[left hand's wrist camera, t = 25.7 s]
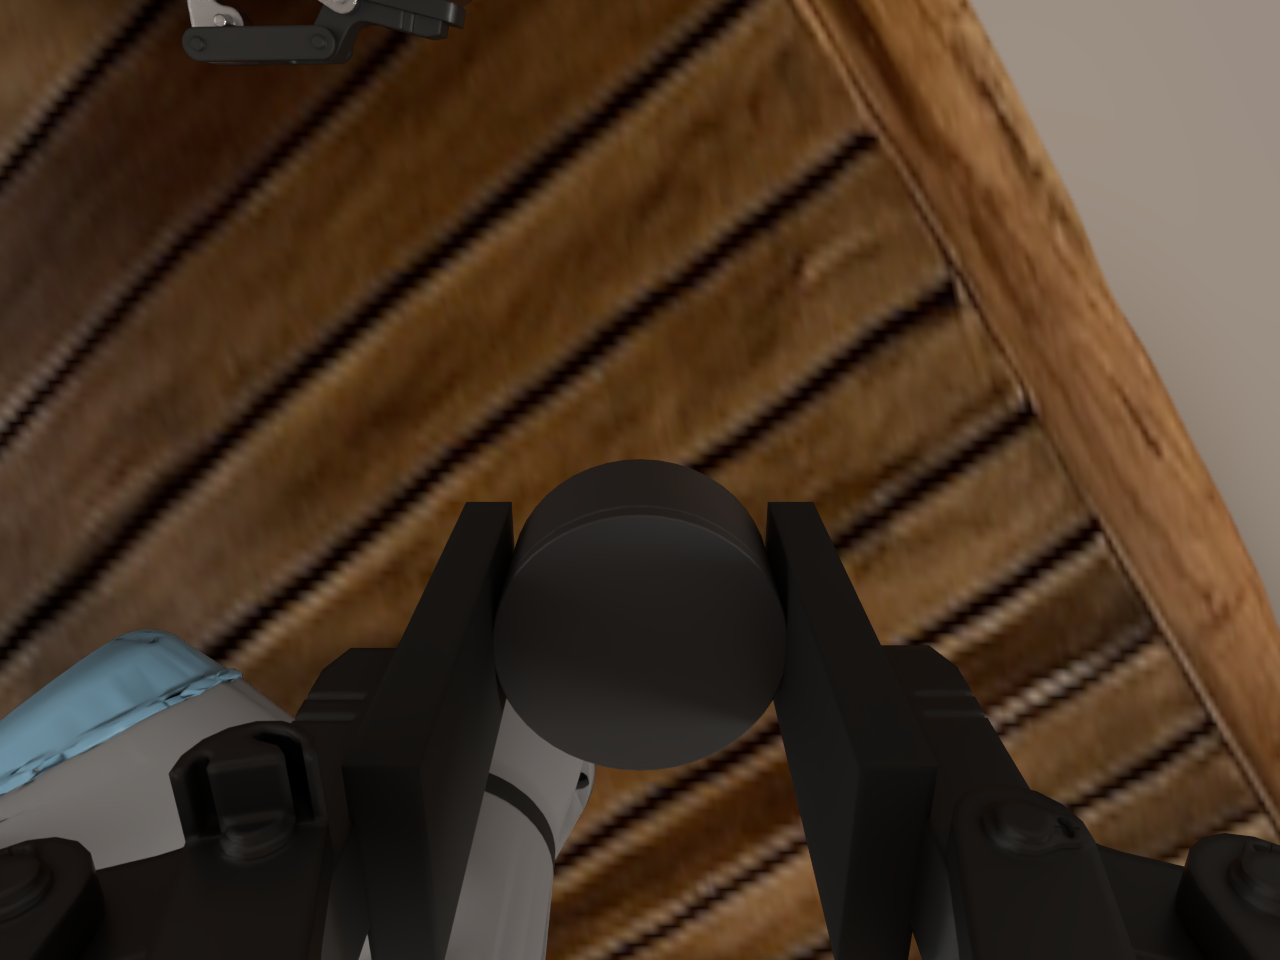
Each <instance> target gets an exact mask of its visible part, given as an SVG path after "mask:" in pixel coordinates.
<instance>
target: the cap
mask: <svg viewBox="0 0 1280 960" xmlns="http://www.w3.org/2000/svg"><path fill="white" fill-rule="evenodd" d="M786 637H787V619H786V615H785V612H784V609H783V605H782V602H781V599H780V595H779V592H778V589H777V586H776V582H775V579H774V576H773V573H772V569H771V566H770V563H769V559H768V556H767V553H766V550H765V546H764V543H763V540H762V537H761V534H760V532H759V530H758V528H757V526H756V524H755V522H754V520H753V519H752V517H751V516H750V514H749V513H748V511H747V510H746V508H745V507H744V506H743V505H742V504H741V503H740V502H739V501H738V499H737V498H736V497H735V496H734V495H733V494H731V493H730V492H729V491H728V490H727V489H725V488H724V487H723V486H722V485H720V484H719V483H717V482H716V481H714V480H713V479H711V478H709V477H708V476H706V475H704V474H701V473H699V472H697V471H695V470H693V469H690V468H687V467H684V466H681V465H678V464H674V463H669V462H664V461H658V460H644V459H638V460H622V461H617V462H611V463H606V464H603V465H599V466H596V467H593V468H590V469H587V470H585V471H583V472H581V473H579V474H577V475H574V476H573V477H571V478H569V479H568V480H566V481H565V482H563V483H561V484H560V485H558V486H557V487H556V488H555V489H554V490H552V491H551V492H550V493H549V494H548V495H546V497H545V498H544V499H543V500H542V501H541V502H540V503H539V504H538V505H537V506H536V507H535V509H534V510H533V512H532V513H531V515H530V516H529V518H528V519H527V520H526V522H525V524H524V526H523V528H522V530H521V532H520V535H519V538H518V541H517V544H516V547H515V550H514V553H513V557H512V560H511V563H510V566H509V570H508V573H507V576H506V580H505V583H504V586H503V589H502V593H501V596H500V599H499V603H498V606H497V609H496V612H495V616H494V622H493V645H494V658H495V670H496V674H497V678H498V681H499V683H500V685H501V688H502V690H503V692H504V694H505V696H506V698H507V700H508V701H509V703H510V704H511V706H512V707H513V709H514V711H515V712H516V713H517V714H518V715H519V717H520V718H521V719H522V720H523V721H524V723H525V724H526V725H527V726H528V727H529V728H531V729H532V730H533V731H534V732H535V733H536V734H537V735H538V736H539V737H541V738H542V739H544V740H545V741H547V742H548V743H549V744H551V745H552V746H554V747H556V748H557V749H559V750H561V751H563V752H565V753H567V754H568V755H571V756H573V757H576V758H578V759H581V760H583V761H586V762H589V763H593V764H596V765H600V766H604V767H610V768H616V769H624V770H657V769H664V768H670V767H676V766H680V765H684V764H688V763H691V762H694V761H697V760H699V759H702V758H705V757H707V756H710V755H712V754H713V753H715V752H717V751H719V750H721V749H723V748H725V747H726V746H728V745H729V744H731V743H732V742H734V741H735V740H737V739H738V738H740V737H741V736H742V735H743V734H744V733H745V732H746V731H748V730H749V729H750V728H751V727H752V726H753V725H754V724H755V723H756V722H757V720H758V719H759V718H760V717H761V716H762V715H763V714H764V712H765V711H766V709H767V708H768V706H769V705H770V703H771V702H772V700H773V699H774V697H775V695H776V692H777V690H778V688H779V686H780V684H781V681H782V678H783V675H784V665H785V651H786Z"/></svg>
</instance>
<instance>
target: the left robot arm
mask: <svg viewBox="0 0 1280 960" xmlns="http://www.w3.org/2000/svg"><path fill="white" fill-rule="evenodd" d="M765 550H766V553H767V556H768V559H769V563H770V566H771V569H772V573H773V576H774V579H775V582H776V586H777V589H778V592H779V595H780V599H781V602H782V605H783V609H784V612H785V615H786V619H787V637H786V651H785V665H784V675H783V678H782V681H781V684H780V686H779V688H778V690H777V692H776V695H775V697H774V699H773V701H774V705H775V709H776V713H777V718H778V722H779V726H780V730H781V735H782V739H783V743H784V747H785V752H786V756H787V760H788V764H789V768H790V773H791V777H792V781H793V785H794V790H795V794H796V798H797V802H798V806H799V811H800V815H801V819H802V823H803V828H804V832H805V836H806V840H807V845H808V849H809V853H810V857H811V861H812V866H813V870H814V874H815V878H816V883H817V887H818V891H819V895H820V899H821V904H822V908H823V912H824V916H825V921H826V925H827V929H828V933H829V937H830V942H831V946H832V950H833V954H834V959H835V960H908V956H909V950H910V944H911V937H912V931H913V934H914V937H915V940H916V943H917V946H918V949H919V951H920V954H921V957H922V960H1280V845H1277V844H1274V843H1271V842H1268V841H1265V840H1262V839H1259V838H1256V837H1253V836H1244V835H1236V834H1227V833H1223V834H1218V835H1213V836H1207V837H1202V838H1201V839H1200V840H1199V841H1198V842H1197V843H1196V844H1195V845H1194V846H1193V847H1191V848H1190V850H1189V853H1188V856H1187V860H1186V863H1185V866H1180V865H1175V864H1171V863H1167V862H1163V861H1158V860H1154V859H1150V858H1146V857H1141V856H1137V855H1133V854H1129V853H1124V852H1121V851H1118V850H1114V849H1111V848H1108V847H1105V846H1102V845H1099V844H1097V843H1095V841H1094V839H1093V837H1092V836H1091V834H1090V833H1089V831H1088V829H1087V828H1086V826H1085V824H1084V823H1083V821H1081V820H1080V819H1079V818H1078V817H1077V816H1076V815H1074V814H1073V813H1072V812H1071V811H1070V810H1068V809H1067V808H1066V807H1065V806H1064V805H1063V804H1061V803H1059V802H1057V801H1055V800H1053V799H1051V798H1049V797H1047V796H1045V795H1043V794H1041V793H1039V792H1037V791H1033V790H1030V788H1029V787H1028V785H1027V783H1026V782H1025V780H1024V778H1023V777H1022V775H1021V773H1020V772H1019V770H1018V768H1017V767H1016V765H1015V763H1014V762H1013V760H1012V758H1011V757H1010V755H1009V753H1008V752H1007V750H1006V748H1005V746H1004V745H1003V743H1002V741H1001V740H1000V738H999V736H998V735H997V733H996V731H995V730H994V728H993V726H992V725H991V723H990V721H989V720H988V718H985V717H984V711H983V710H982V708H981V706H980V705H979V703H978V701H977V700H976V698H975V697H972V691H971V690H970V688H969V686H968V685H967V683H966V681H965V680H964V678H963V676H962V675H961V673H960V671H959V670H958V668H957V667H956V666H955V665H954V664H952V663H951V662H950V661H949V660H947V659H946V658H945V657H943V656H942V655H941V654H939V653H938V652H937V651H936V650H934V649H933V648H932V647H930V646H929V645H881V644H880V642H879V640H878V638H877V636H876V634H875V632H874V630H873V628H872V625H871V623H870V621H869V619H868V617H867V615H866V613H865V611H864V609H863V606H862V604H861V602H860V600H859V598H858V596H857V594H856V592H855V590H854V587H853V585H852V583H851V581H850V579H849V577H848V575H847V573H846V571H845V568H844V566H843V564H842V562H841V560H840V558H839V556H838V554H837V552H836V549H835V547H834V545H833V543H832V541H831V539H830V537H829V535H828V533H827V530H826V528H825V526H824V524H823V522H822V520H821V518H820V516H819V514H818V511H817V509H816V507H815V505H814V503H813V502H768V508H767V525H766V542H765ZM513 553H514V535H513V518H512V502H466V504H465V506H464V508H463V510H462V512H461V514H460V517H459V519H458V521H457V523H456V525H455V527H454V529H453V531H452V533H451V536H450V538H449V540H448V542H447V544H446V546H445V548H444V550H443V552H442V555H441V557H440V559H439V561H438V563H437V565H436V567H435V569H434V571H433V574H432V576H431V578H430V580H429V582H428V584H427V586H426V588H425V590H424V592H423V595H422V597H421V599H420V601H419V603H418V605H417V607H416V609H415V611H414V614H413V616H412V618H411V620H410V622H409V624H408V626H407V628H406V630H405V633H404V635H403V637H402V639H401V641H400V643H399V645H398V647H397V648H350V649H349V650H348V651H346V652H345V653H344V654H342V655H341V656H340V657H339V658H337V659H336V660H335V661H333V662H332V663H331V664H330V665H328V666H327V667H326V668H324V669H323V670H322V672H321V674H320V675H319V677H318V679H317V680H316V682H315V684H314V685H313V687H312V689H311V690H310V692H309V694H308V700H305V701H304V702H303V704H302V706H301V707H300V709H299V711H298V712H297V714H296V719H295V718H293V717H292V716H291V715H290V714H288V713H287V712H286V711H284V710H283V709H282V708H280V707H279V706H278V705H276V704H275V703H274V702H272V701H271V700H270V699H268V698H267V697H266V696H264V695H263V694H262V693H261V692H259V691H258V690H257V689H255V688H254V687H253V686H251V685H250V684H249V683H247V682H246V681H245V680H243V679H242V677H243V674H241V673H240V672H239V671H238V670H236V669H227V668H226V667H224V666H222V665H221V664H219V663H218V662H216V661H214V660H213V659H211V658H210V657H208V656H206V655H205V654H203V653H202V652H200V651H199V650H197V649H196V648H194V647H193V646H191V645H190V644H188V643H187V642H185V641H184V640H182V639H181V638H179V637H177V636H176V635H174V634H172V633H169V632H166V631H161V630H155V629H143V630H137V631H133V632H130V633H126V634H123V635H121V636H119V637H117V638H115V639H113V640H111V641H109V642H108V643H106V644H104V645H103V646H101V647H100V648H98V649H97V650H95V651H94V652H92V653H91V654H89V655H88V656H86V657H85V658H83V659H82V660H80V661H79V662H77V663H76V664H75V665H73V666H72V667H70V668H69V669H68V670H66V671H65V672H64V673H62V674H61V675H59V676H58V677H57V678H55V679H54V680H53V681H51V682H50V683H49V684H47V685H46V686H44V687H43V688H42V689H40V690H39V691H38V692H37V693H35V694H34V695H33V696H31V697H30V698H29V699H27V700H26V701H25V702H23V703H22V704H21V705H20V706H18V707H17V708H16V709H14V710H13V711H12V712H11V713H9V714H8V715H7V716H6V717H4V718H3V719H2V720H0V960H545V955H546V945H547V934H548V924H549V914H550V904H551V894H552V884H553V873H554V865H555V859H556V857H557V856H558V854H559V852H560V850H561V849H562V847H563V845H564V843H565V841H566V840H567V838H568V836H569V834H570V833H571V831H572V829H573V827H574V826H575V824H576V822H577V820H578V819H579V817H580V815H581V813H582V812H583V810H584V808H585V806H586V805H587V803H588V800H589V798H590V795H591V792H592V788H593V784H594V777H595V764H593V763H589V762H586V761H583V760H581V759H578V758H576V757H573V756H571V755H568V754H567V753H565V752H563V751H561V750H559V749H557V748H556V747H554V746H552V745H551V744H549V743H548V742H547V741H545V740H544V739H542V738H541V737H539V736H538V735H537V734H536V733H535V732H534V731H533V730H532V729H531V728H529V727H528V726H527V725H526V724H525V723H524V721H523V720H522V719H521V718H520V717H519V715H518V714H517V713H516V712H515V711H514V709H513V707H512V706H511V704H510V703H509V701H508V700H507V698H506V696H505V694H504V692H503V690H502V688H501V685H500V683H499V681H498V678H497V674H496V670H495V658H494V645H493V622H494V616H495V612H496V609H497V606H498V603H499V599H500V596H501V593H502V589H503V586H504V583H505V580H506V576H507V573H508V570H509V566H510V563H511V560H512V557H513Z"/></svg>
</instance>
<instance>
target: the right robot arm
mask: <svg viewBox="0 0 1280 960" xmlns="http://www.w3.org/2000/svg"><path fill="white" fill-rule="evenodd" d="M319 1H320V2H322V3H323V6H322V8H321V10H320V12H319V14H318V17H317V19H316V21H315V23H314V25H274V26H252V22H251V20H250V18H249V17H248V15H247V14H246V13H245V12H243V11H241V10H238V9H235V8H232V7H229V6H227V5H225V4H224V3H223V1H222V0H187V3H188V9H189V14H190V20H191V25H192V27H191V28H189V29H187V30H186V31H185V32H184V34H183V37H182V45H183V48H184V50H185V52H186V53H187V55H188V56H190V57H191V58H192V59H194V60H197V61H202V62H208V63H213V64H219V65H225V66H245V65H308V64H344V63H346V62H348V61H349V60H350V59H351V57H352V55H353V44H354V42H355V40H356V38H357V36H358V34H359V32H360V31H361V30H362V29H363V28H365V27H367V26H370V25H377V26H381V27H385V28H389V29H393V30H396V31H400V32H404V33H408V34H412V35H416V36H420V37H423V38H427V39H431V40H440V39H446V38H447V36H448V29H449V26H452V27H456V28H461V29H463V28H464V21H465V14H466V10H465V9H464V8H462V7H461V6H459V5H457V4H454V3H451V2H448V1H444V0H319Z"/></svg>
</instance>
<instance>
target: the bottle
mask: <svg viewBox="0 0 1280 960" xmlns="http://www.w3.org/2000/svg"><path fill="white" fill-rule="evenodd" d="M444 1H448V2H451V3H454V4H457V5H459V6H461V7H464V6H466V5H467V4H469V3H470V2H471V1H472V0H444Z"/></svg>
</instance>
